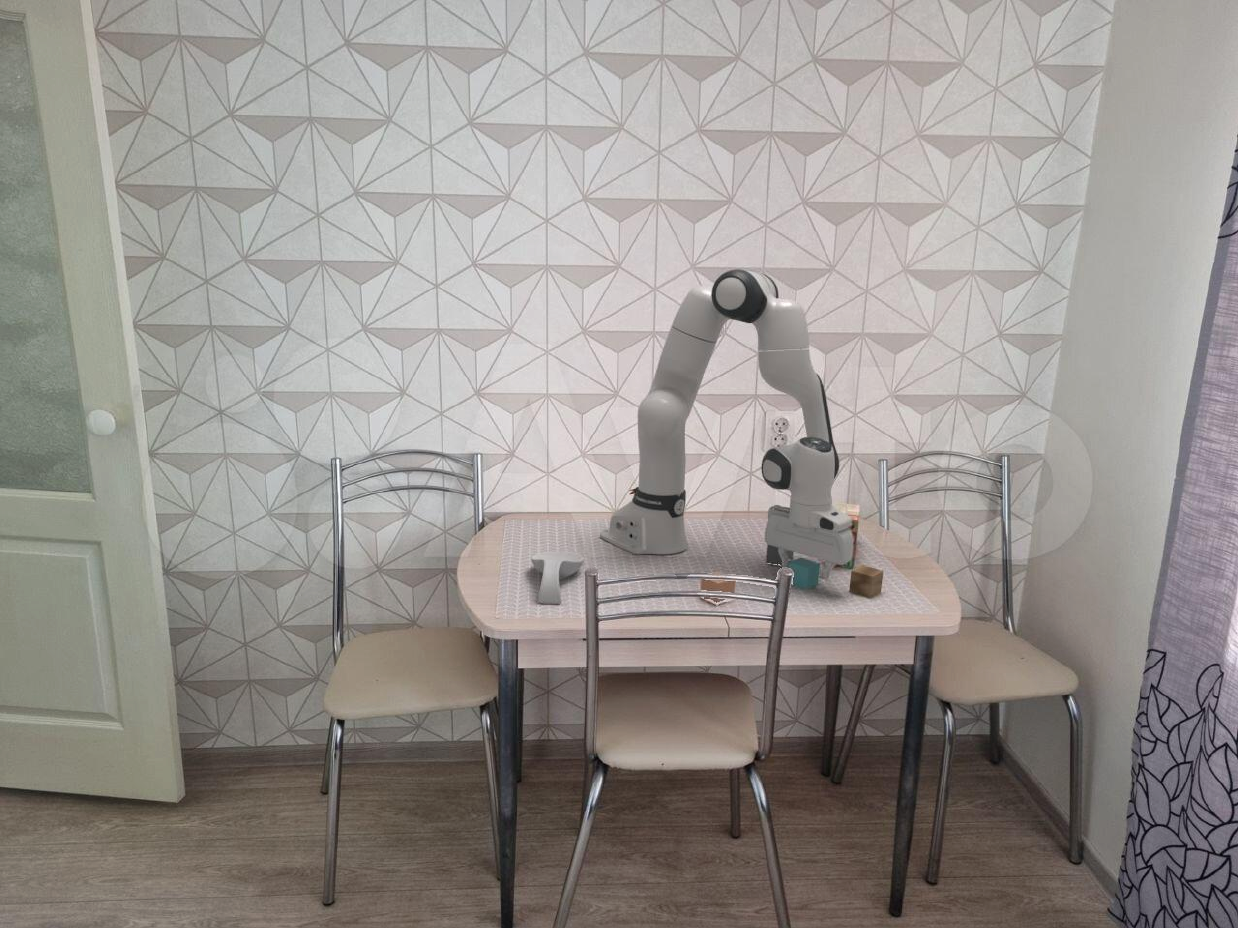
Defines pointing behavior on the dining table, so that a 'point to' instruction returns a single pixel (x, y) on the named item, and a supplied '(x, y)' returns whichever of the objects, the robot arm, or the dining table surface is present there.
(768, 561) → the charcoal cube
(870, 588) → the walnut cube
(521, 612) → the dining table surface
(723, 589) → the terracotta cube
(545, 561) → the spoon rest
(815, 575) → the teal cube
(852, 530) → the stack of blocks
